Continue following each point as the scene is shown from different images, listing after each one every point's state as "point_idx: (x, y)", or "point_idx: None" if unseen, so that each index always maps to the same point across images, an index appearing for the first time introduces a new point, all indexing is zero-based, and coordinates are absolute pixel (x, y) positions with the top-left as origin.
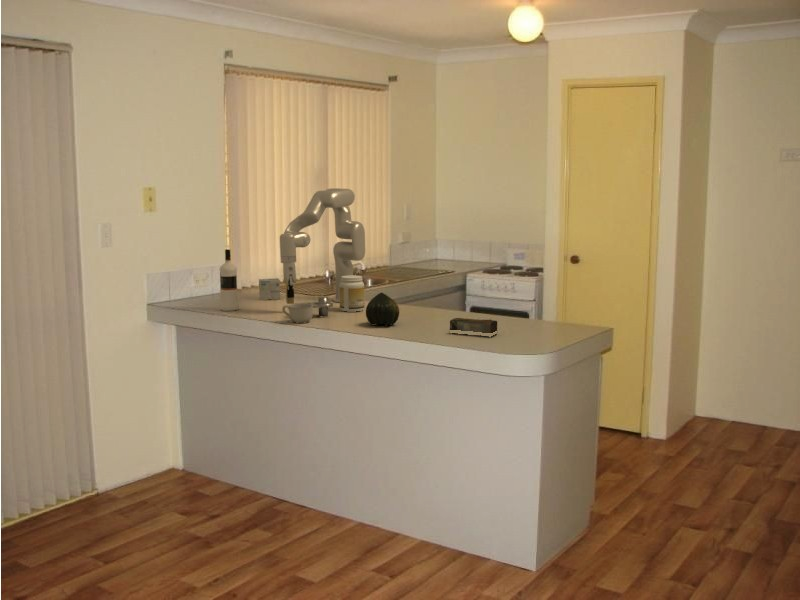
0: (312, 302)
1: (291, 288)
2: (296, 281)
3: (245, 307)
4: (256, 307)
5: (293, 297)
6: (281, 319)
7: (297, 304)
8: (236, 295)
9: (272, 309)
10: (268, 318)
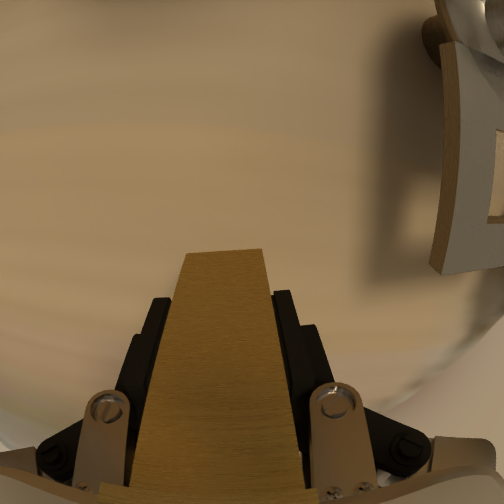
0: (475, 93)
1: (366, 420)
2: (496, 480)
3: (72, 410)
4: (61, 382)
5: (268, 290)
6: (448, 309)
7: None
8: None
9: (101, 336)
10: (394, 364)
